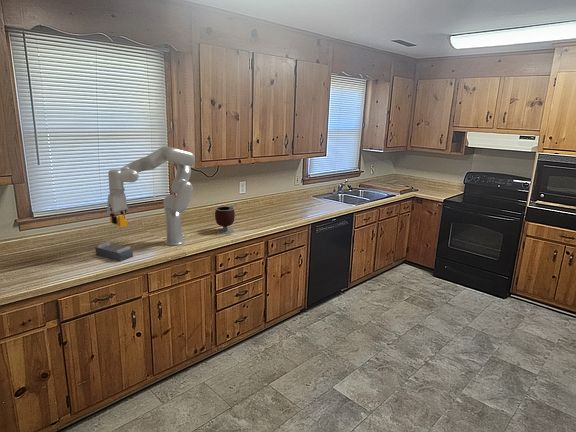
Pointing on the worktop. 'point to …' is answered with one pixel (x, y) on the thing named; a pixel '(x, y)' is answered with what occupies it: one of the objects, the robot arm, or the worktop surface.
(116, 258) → the mounting block
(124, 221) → the orange stepped block
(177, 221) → the robot arm
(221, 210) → the mate gourd
